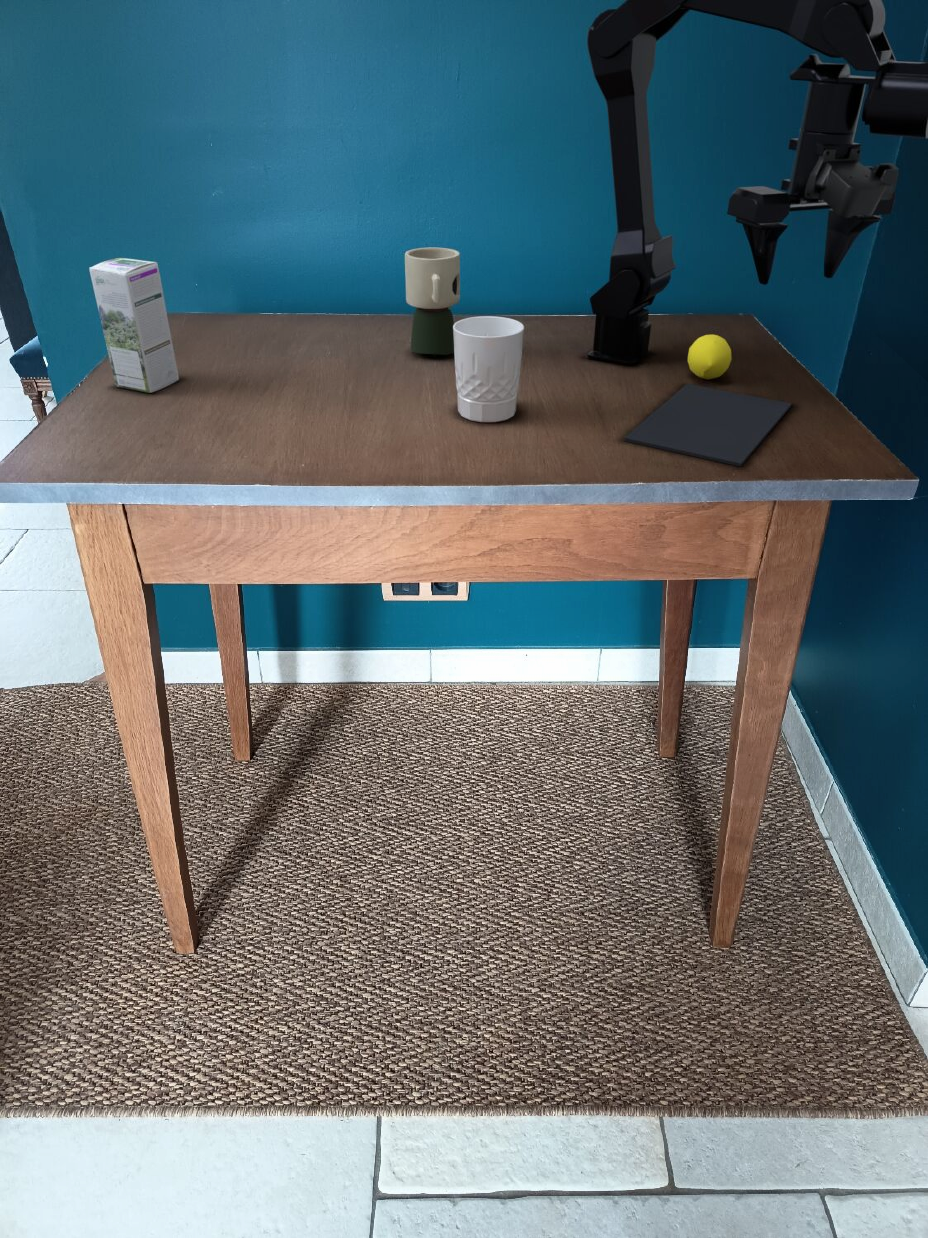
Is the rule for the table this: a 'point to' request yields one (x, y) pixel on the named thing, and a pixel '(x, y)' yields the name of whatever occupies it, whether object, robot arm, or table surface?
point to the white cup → (487, 367)
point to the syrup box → (135, 323)
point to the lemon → (709, 356)
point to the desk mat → (710, 424)
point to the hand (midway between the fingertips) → (795, 280)
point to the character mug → (432, 297)
